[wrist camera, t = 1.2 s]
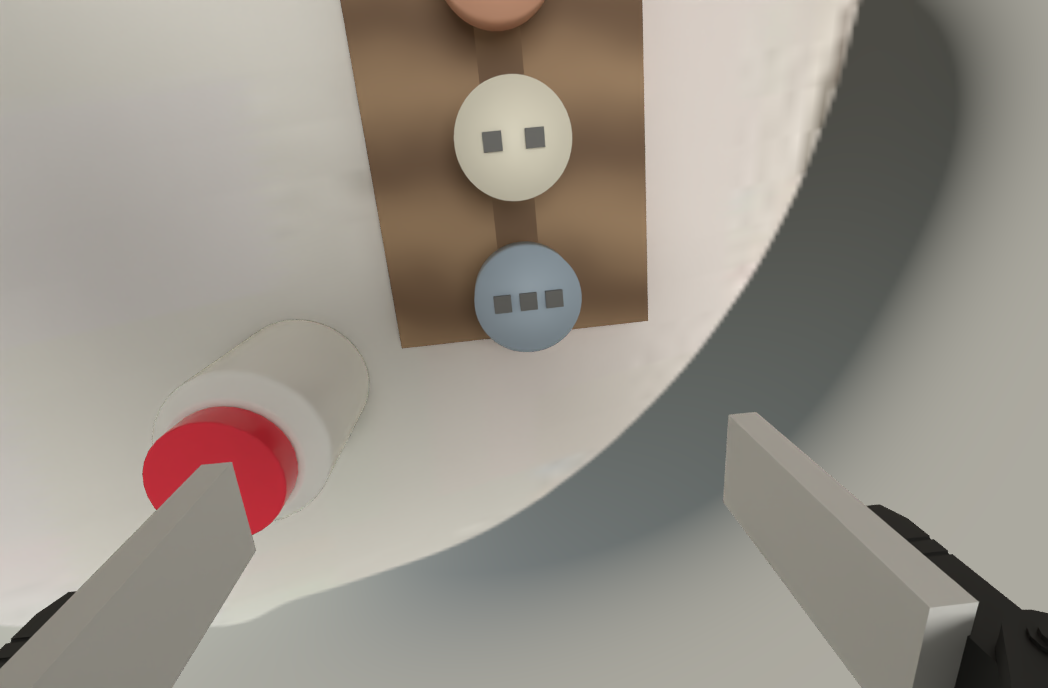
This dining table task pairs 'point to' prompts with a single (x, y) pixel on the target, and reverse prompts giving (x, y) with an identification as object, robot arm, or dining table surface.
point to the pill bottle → (263, 419)
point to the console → (455, 202)
